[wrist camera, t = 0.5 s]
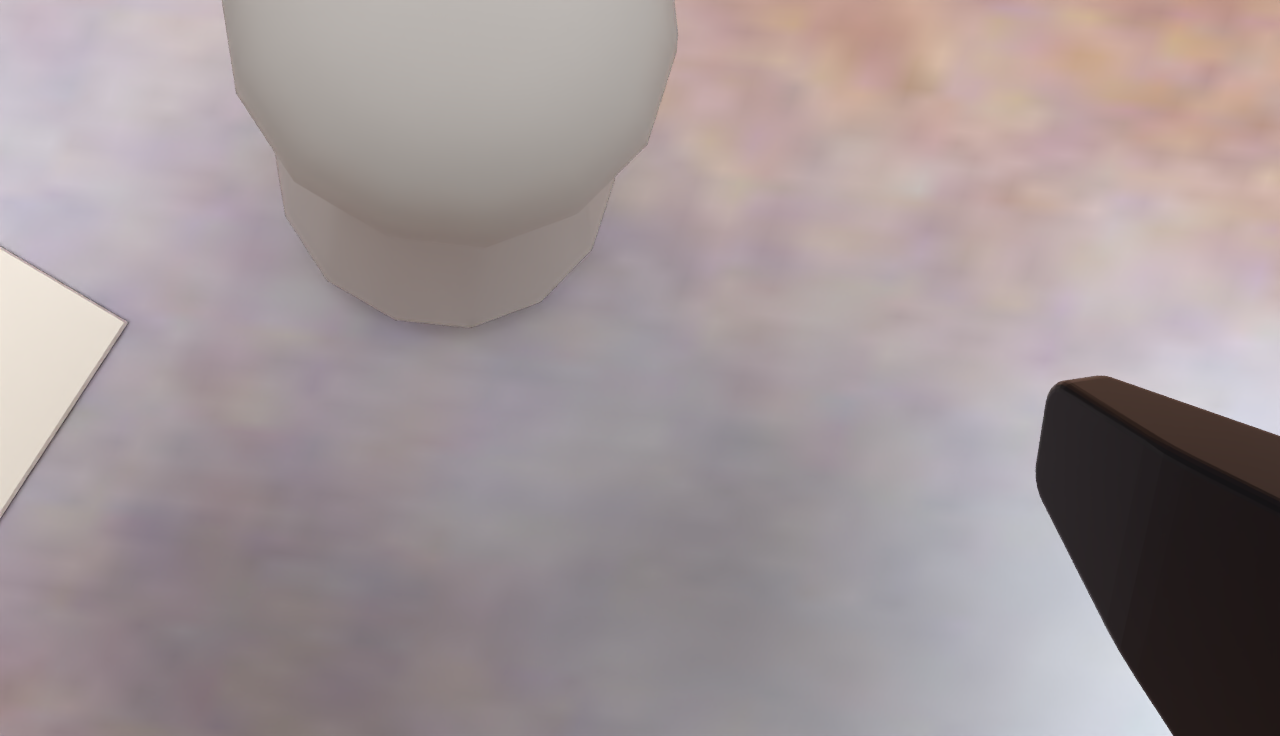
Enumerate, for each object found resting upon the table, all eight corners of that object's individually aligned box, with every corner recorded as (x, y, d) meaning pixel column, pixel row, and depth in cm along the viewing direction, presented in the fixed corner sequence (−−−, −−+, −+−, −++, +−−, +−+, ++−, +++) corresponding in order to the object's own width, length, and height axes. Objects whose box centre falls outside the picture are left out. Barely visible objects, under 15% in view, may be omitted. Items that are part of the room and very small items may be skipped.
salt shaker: (233, 224, 22) (-46, 74, 10) (393, -31, 23) (329, -501, 10) (501, 383, 23) (572, 440, 11) (651, 135, 24) (895, -100, 11)
